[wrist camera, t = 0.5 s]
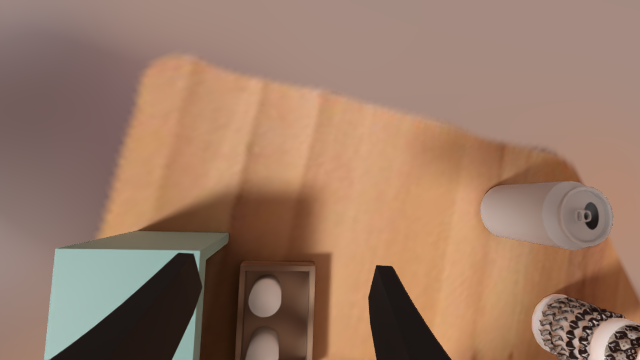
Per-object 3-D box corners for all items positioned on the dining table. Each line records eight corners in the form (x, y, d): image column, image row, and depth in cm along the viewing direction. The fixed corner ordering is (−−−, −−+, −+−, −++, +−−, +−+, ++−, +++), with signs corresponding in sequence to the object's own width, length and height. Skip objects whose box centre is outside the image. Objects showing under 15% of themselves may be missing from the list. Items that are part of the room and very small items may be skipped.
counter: (219, 397, 34) (182, 506, 22) (122, 402, 32) (27, 521, 20) (228, 232, 35) (200, 250, 23) (136, 230, 34) (55, 248, 22)
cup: (278, 356, 34) (277, 376, 30) (249, 356, 34) (244, 377, 30) (279, 326, 35) (279, 342, 31) (250, 326, 34) (246, 343, 30)
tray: (309, 364, 35) (311, 377, 33) (237, 367, 34) (233, 380, 32) (313, 261, 36) (315, 266, 34) (243, 260, 35) (240, 265, 33)
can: (523, 236, 40) (623, 252, 28) (476, 237, 39) (559, 254, 27) (521, 185, 41) (618, 180, 29) (475, 184, 40) (555, 179, 28)
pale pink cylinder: (280, 303, 35) (280, 316, 31) (251, 303, 34) (247, 317, 30) (282, 274, 35) (282, 284, 31) (253, 274, 35) (249, 284, 31)
